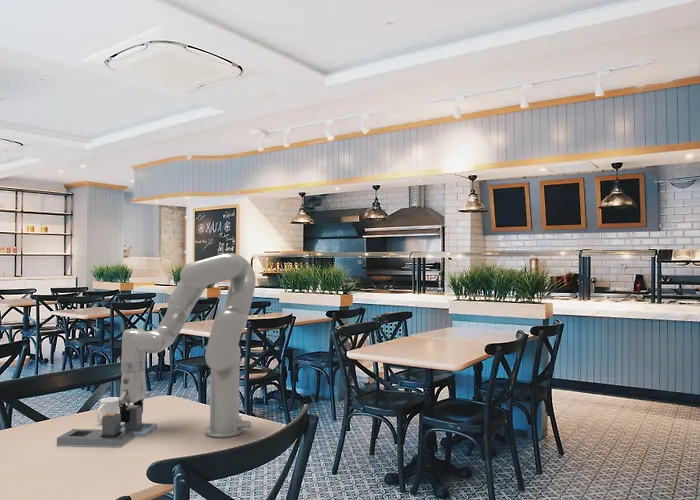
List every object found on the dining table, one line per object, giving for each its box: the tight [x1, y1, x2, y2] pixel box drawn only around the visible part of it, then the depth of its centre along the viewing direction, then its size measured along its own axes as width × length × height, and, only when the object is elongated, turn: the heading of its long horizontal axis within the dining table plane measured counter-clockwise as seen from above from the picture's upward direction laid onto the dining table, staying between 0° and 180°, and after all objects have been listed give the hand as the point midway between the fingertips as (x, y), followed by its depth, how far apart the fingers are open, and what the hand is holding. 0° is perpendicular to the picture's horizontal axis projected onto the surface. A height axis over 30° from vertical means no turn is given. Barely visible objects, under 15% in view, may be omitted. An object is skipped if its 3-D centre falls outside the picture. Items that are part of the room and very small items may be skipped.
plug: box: [124, 404, 143, 432], centre depth 184 cm, size 4×4×8 cm
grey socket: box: [56, 412, 134, 448], centre depth 173 cm, size 20×9×9 cm, turn 87°
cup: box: [96, 396, 120, 424], centre depth 195 cm, size 7×10×8 cm
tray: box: [121, 422, 158, 437], centre depth 184 cm, size 12×10×2 cm
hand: (131, 417), depth 184 cm, fingers open, 9 cm apart
